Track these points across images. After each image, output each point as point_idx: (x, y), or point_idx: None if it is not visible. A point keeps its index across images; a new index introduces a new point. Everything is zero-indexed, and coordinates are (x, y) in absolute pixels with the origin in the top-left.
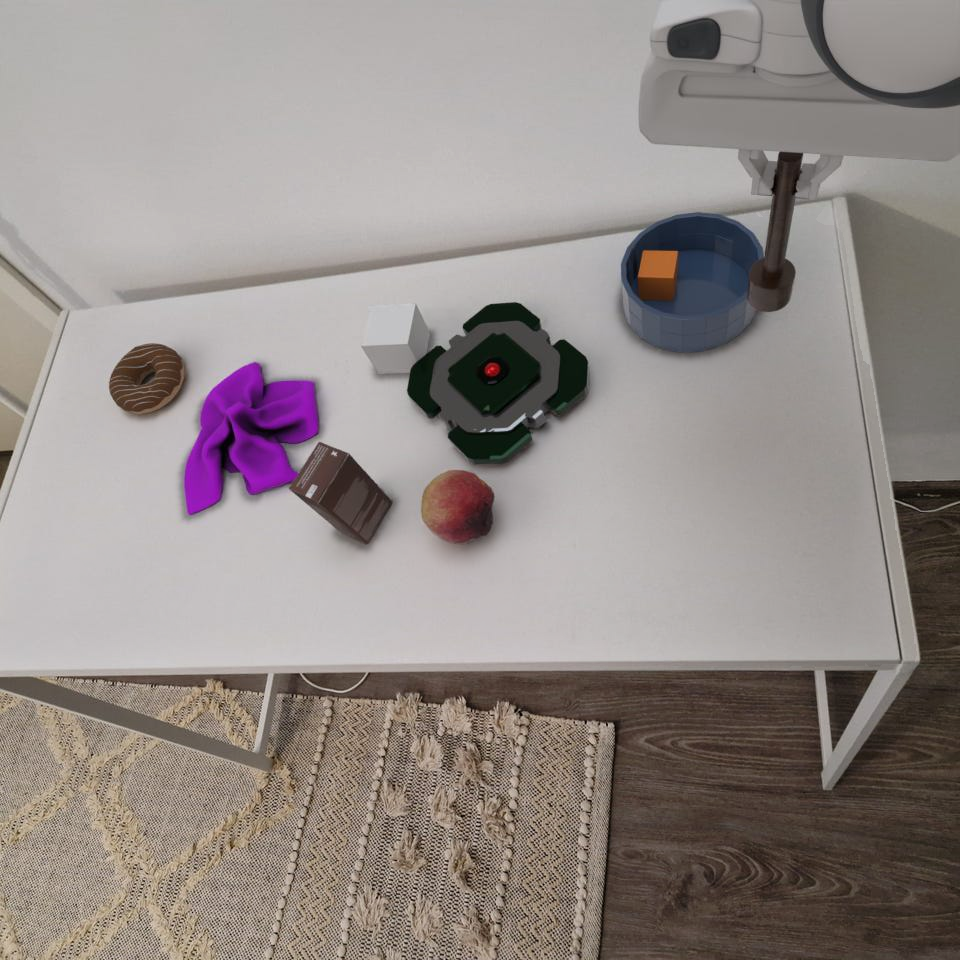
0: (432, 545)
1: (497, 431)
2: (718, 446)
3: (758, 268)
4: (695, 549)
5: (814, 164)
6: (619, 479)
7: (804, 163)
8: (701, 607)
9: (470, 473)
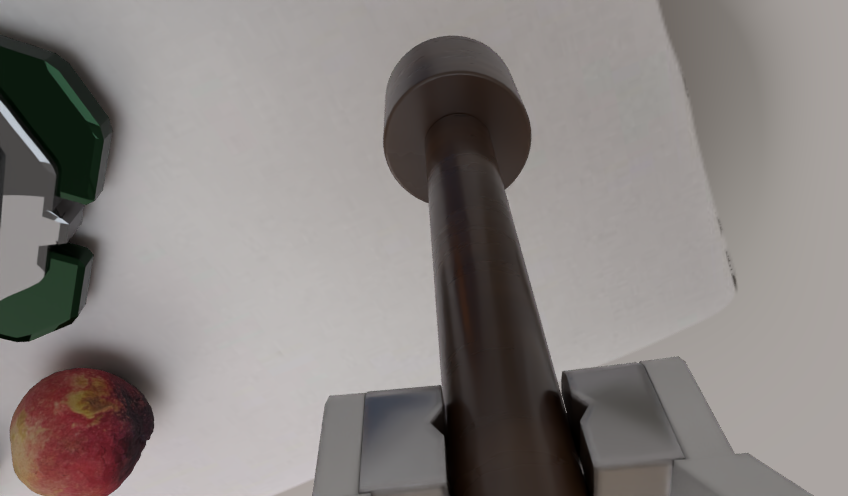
0: None
1: (23, 289)
2: None
3: (408, 140)
4: None
5: (670, 467)
6: (280, 239)
7: (605, 468)
8: None
9: (57, 414)
